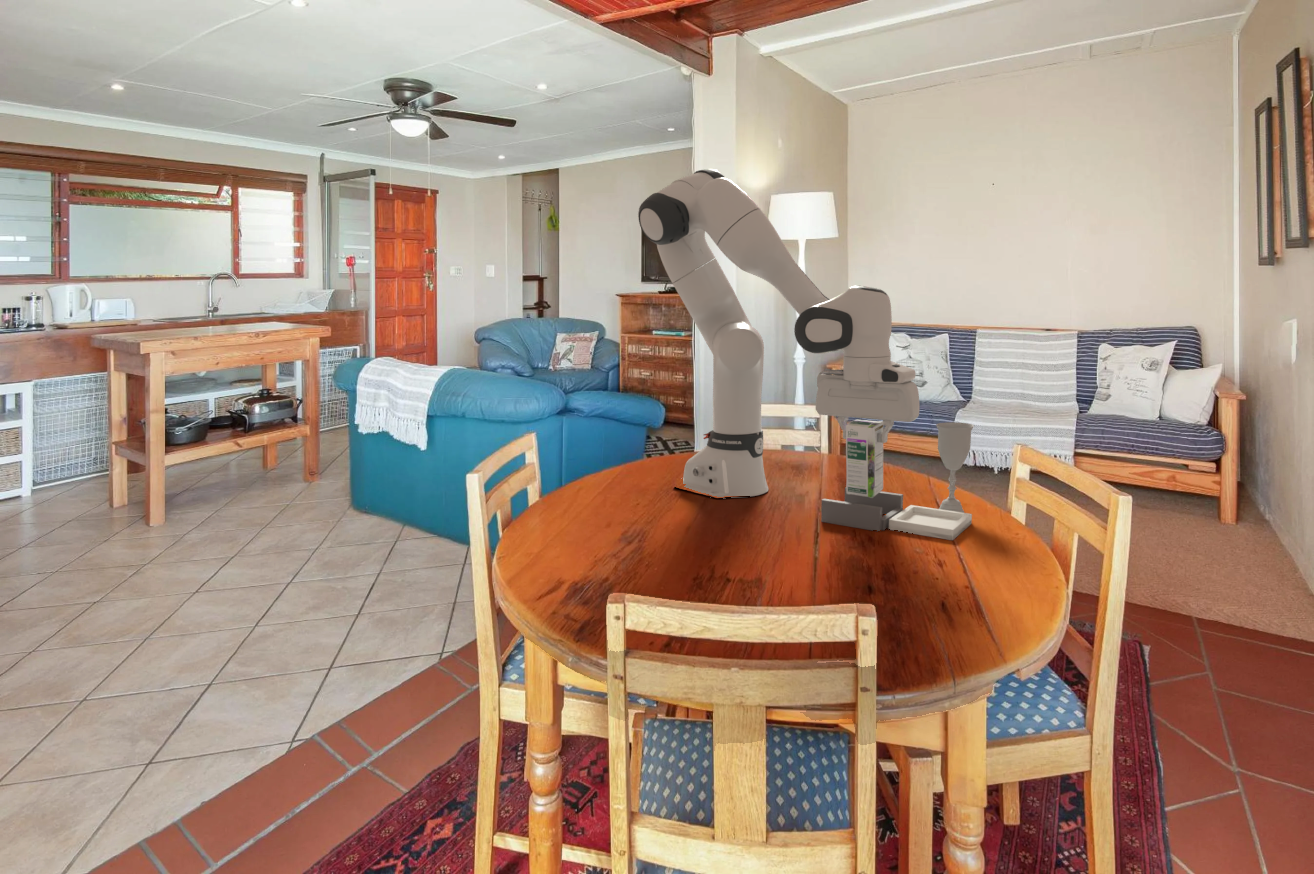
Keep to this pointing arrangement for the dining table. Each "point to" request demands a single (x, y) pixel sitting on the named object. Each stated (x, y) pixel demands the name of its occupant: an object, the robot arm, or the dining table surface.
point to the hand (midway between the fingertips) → (864, 440)
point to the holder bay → (862, 510)
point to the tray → (931, 522)
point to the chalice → (953, 456)
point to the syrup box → (864, 458)
